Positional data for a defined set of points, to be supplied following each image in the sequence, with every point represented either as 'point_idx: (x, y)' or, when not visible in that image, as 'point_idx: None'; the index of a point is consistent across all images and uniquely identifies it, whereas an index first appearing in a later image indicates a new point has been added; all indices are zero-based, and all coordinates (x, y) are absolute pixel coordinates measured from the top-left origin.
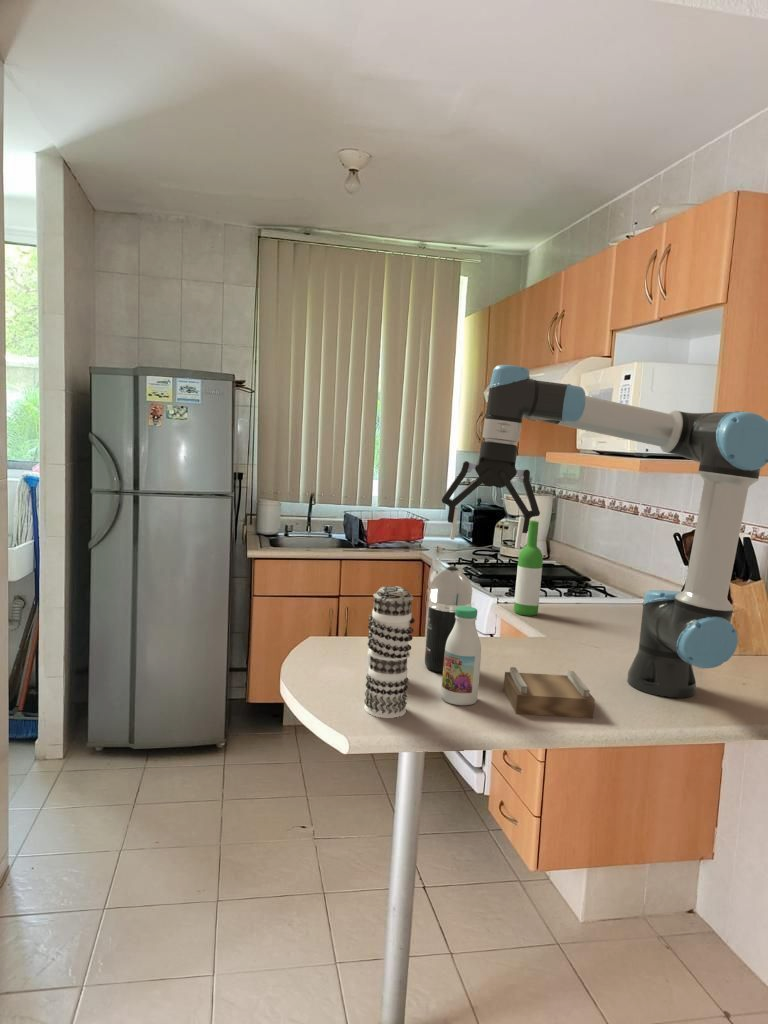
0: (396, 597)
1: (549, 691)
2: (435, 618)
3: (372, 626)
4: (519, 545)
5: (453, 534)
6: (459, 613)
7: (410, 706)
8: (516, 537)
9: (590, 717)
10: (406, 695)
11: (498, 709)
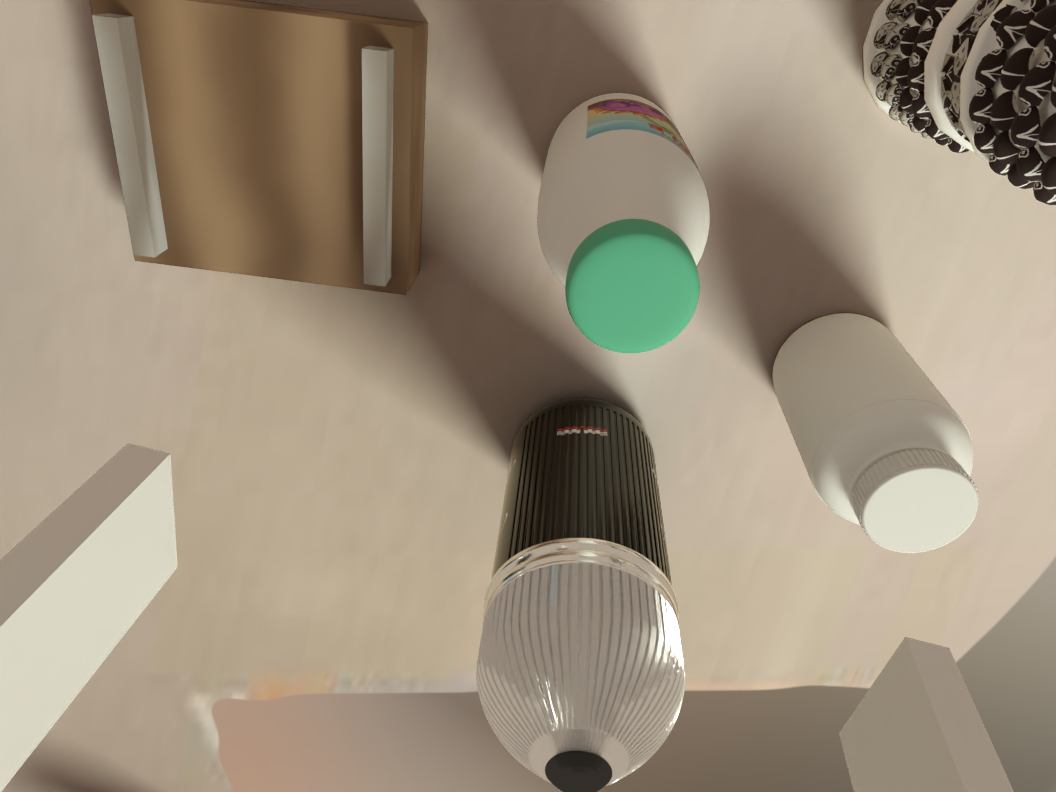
0: None
1: (267, 77)
2: (655, 544)
3: (969, 471)
4: (110, 470)
5: (945, 695)
6: (687, 250)
7: (828, 85)
8: (108, 635)
9: None
10: (897, 26)
11: (486, 66)
